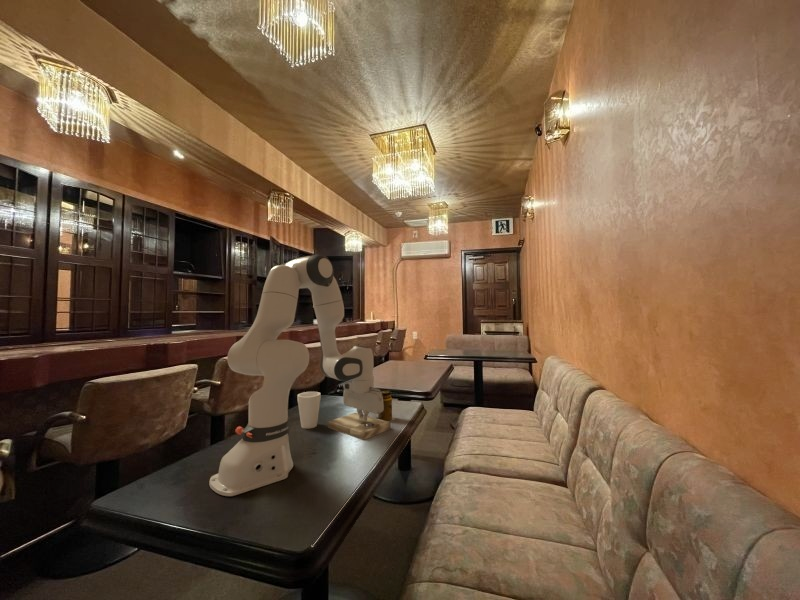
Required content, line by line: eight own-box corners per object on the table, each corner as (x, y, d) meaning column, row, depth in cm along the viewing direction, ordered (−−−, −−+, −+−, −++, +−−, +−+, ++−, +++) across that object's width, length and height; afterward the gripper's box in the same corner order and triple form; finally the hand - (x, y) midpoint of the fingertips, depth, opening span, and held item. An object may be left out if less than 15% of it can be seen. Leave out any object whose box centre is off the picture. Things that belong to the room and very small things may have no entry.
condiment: (396, 419, 144) (395, 391, 144) (381, 424, 138) (381, 395, 138) (385, 415, 149) (384, 389, 149) (370, 420, 143) (370, 392, 144)
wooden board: (363, 440, 121) (363, 433, 121) (327, 427, 134) (327, 421, 134) (390, 428, 132) (390, 422, 132) (355, 418, 146) (355, 412, 146)
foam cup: (293, 425, 137) (293, 394, 137) (313, 420, 143) (313, 390, 144) (303, 431, 130) (303, 398, 130) (324, 426, 136) (324, 394, 137)
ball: (365, 434, 129) (369, 431, 127) (362, 426, 130) (366, 423, 128) (371, 431, 131) (375, 428, 129) (368, 423, 132) (372, 420, 130)
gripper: (387, 387, 128) (387, 423, 127) (352, 381, 141) (352, 413, 140) (375, 390, 123) (376, 428, 122) (340, 383, 136) (340, 417, 136)
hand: (363, 420), depth 132 cm, fingers closed
